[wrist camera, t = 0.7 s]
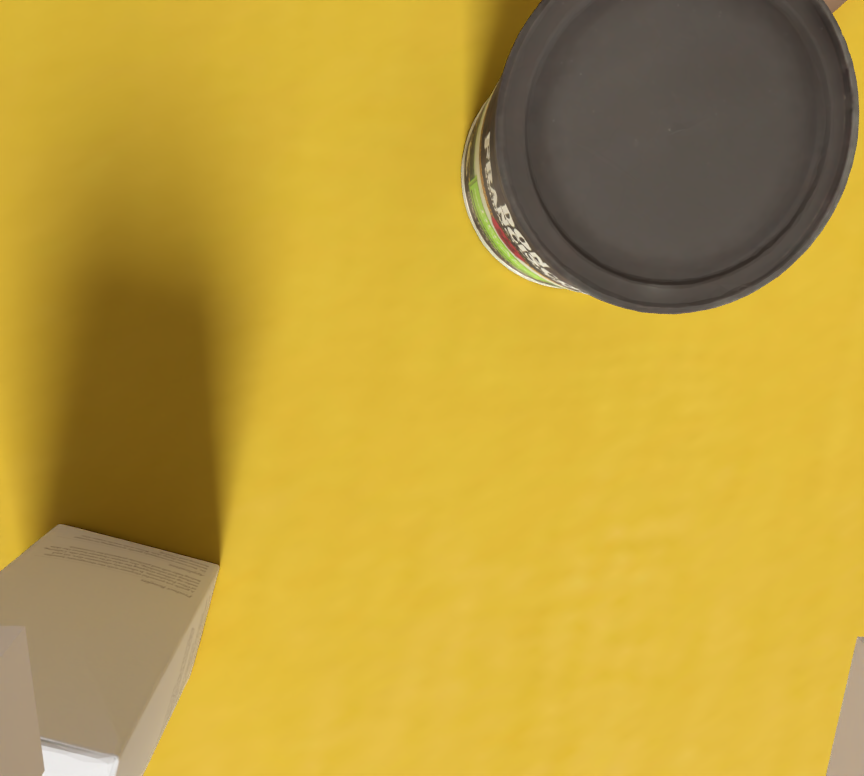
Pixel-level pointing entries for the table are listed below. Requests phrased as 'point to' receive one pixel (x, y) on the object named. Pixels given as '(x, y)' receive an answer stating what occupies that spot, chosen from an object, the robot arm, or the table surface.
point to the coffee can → (663, 147)
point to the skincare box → (105, 644)
